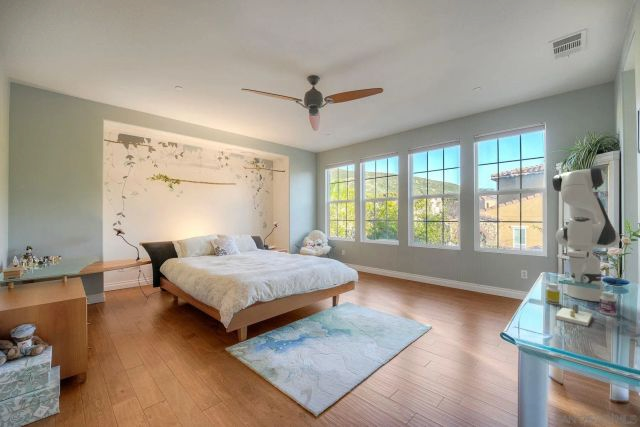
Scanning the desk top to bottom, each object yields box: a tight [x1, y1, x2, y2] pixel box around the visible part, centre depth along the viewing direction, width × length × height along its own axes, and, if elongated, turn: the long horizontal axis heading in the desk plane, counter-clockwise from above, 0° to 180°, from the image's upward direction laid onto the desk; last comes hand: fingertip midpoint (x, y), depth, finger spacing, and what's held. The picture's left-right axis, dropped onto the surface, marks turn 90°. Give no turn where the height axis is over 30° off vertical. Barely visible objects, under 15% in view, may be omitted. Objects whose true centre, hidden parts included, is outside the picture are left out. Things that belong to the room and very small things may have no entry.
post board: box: [555, 303, 593, 327], centre depth 118 cm, size 16×10×5 cm, turn 129°
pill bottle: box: [598, 291, 617, 317], centre depth 124 cm, size 5×5×10 cm
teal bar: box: [558, 276, 601, 290], centre depth 127 cm, size 14×5×4 cm, turn 40°
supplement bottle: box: [545, 282, 561, 305], centre depth 138 cm, size 5×5×10 cm
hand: (579, 280), depth 127 cm, fingers closed on teal bar, 5 cm apart
